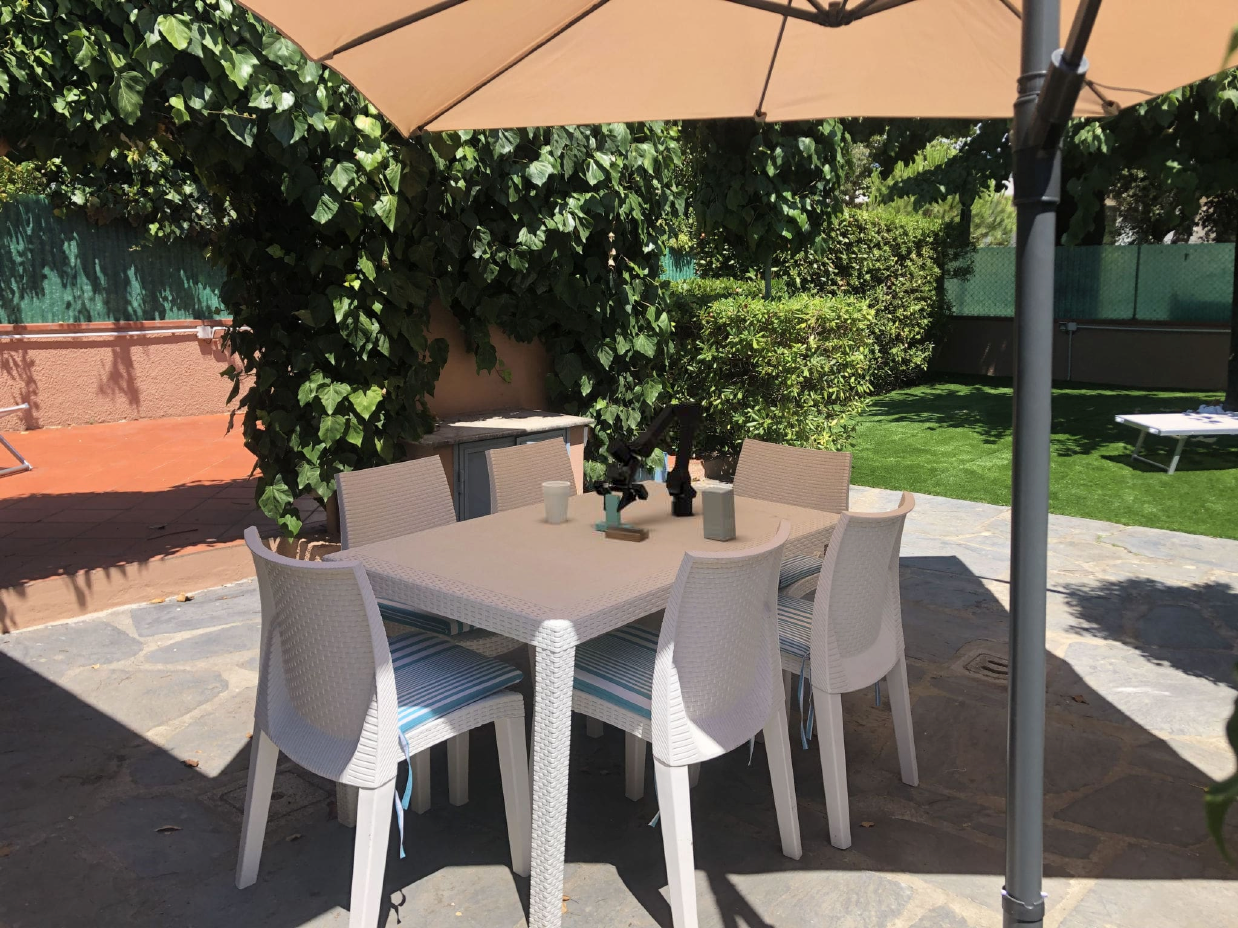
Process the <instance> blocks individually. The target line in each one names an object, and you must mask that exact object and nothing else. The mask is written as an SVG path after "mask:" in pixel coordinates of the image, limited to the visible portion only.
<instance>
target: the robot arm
mask: <svg viewBox="0 0 1238 928" xmlns="http://www.w3.org/2000/svg"><path fill="white" fill-rule="evenodd" d="M703 413H704V406H703V405H702V403H701V402H700V401H689V400H684V401H681V403H671V402H669V403H666V404H665V406H664V408H663V409H662V411H661V412H660V413H659V414H658V416H657V417H656V418H655V419H654V421H652V424H650V425H649V427H648V428H647V429H646V430H645V431H644V432H642V433H641V434H639V435H637V436H636V437H635V438H634V439H632V440H631V442H630V443H626V441H625V439H624V438H623V437H621V436H619V437H616V439H614V440H612V441H611V442H609V443H608V444H607V445H606V447H605V452H606V454H607V455H609V456H610V457H611V459H612V460H614V462H615V463H617V464H621V465H620V466H619V467H614V466H608V467H607V470H606V474H605V477H606V478H609V479H610V480H609V481H610V483H611V484H609V483H607V481H606V480H603V479H594V480H593V481H592V483H591V487H592V489H593V490H594V492H595V494H596V495H597V496H600V497H603V509H602V510H603V511H604V512H606V502H605V495H608V494H612V495H613V493H622V494H621V497H620V502H619V504H618V507H617V510H616V511H617V513H619V512H620V511H622V510H624V509H625V508H626V507H628V506H629V505H631V504H632V503H633V502H637V500H641V501H647V500H648V498H649V492H648V490H647V488H646V486H645V485H644V484H643V483H636V481H637V478H636V475H637V473H638V471H639V469H645V464H644V463H643V459H642V460H641V459H640V458H644V459H647V458H651V456H652V455H653V453H654V451H655V450H656V449H657V444H658V443H657V442H658V441H659V439H660V438H661V436H662V435H663V434H664V433H665V431H666V430H667V429H668V428H669V426H670V425H671V424H672V423H673V421H674V420H675V418H677V419H678V422H679V424H680V429H679V435H678V440H677V441H678V442H677V448H676V453H675V460H674V466H673V468H672V469H671V471H669V470H668V471H667V472H666V478H665V481H664V483H665V488H666V489H667V491H668V496H669V497H672V500H671V508H670V509H671V510H670V513H671V514H672V515H674V516H675V517H688V516H689V517H690V516H695V513H693V502H694V501H693V499H696V497H697V494H698V491H697V490H696V489H695V488H694V487H693V486H692V476H691V472H690V471H689V467H690V461H691V456H692V448H693V443H694V439H695V438H694V437H695V431H696V428H697V426H698V425H699V424H700V423H701V421H702V417H703Z"/></svg>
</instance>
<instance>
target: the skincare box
mask: <svg viewBox="0 0 1238 928" xmlns="http://www.w3.org/2000/svg"><path fill="white" fill-rule="evenodd" d="M734 493H735V491H734V488H728V487H719V486H718V487H717V486H712V487H709V488H705V489H702V490H701V504H702V525H703V527H702V528H703V538H704V539H708V538H710V539H709V540H715V541H720V542H725V541H729V540H732V538H733V539H735V538H736V536H737V531H736V528H737V527H736V510H735V509H736V508H735V494H734Z"/></svg>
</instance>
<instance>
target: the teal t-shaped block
mask: <svg viewBox="0 0 1238 928" xmlns="http://www.w3.org/2000/svg"><path fill="white" fill-rule="evenodd" d="M620 500H621V495H620V494H613V493H612V494H608V495H605V502H606V511H605V520H604V521H603V520H601V521H599V522H596V523H594V524H595V525H594V527H595V528H594V529H595V530H596V531H605V530H606V526H608V525H614V526H622V527H630V528H635V525H634V524H628V523H622V522H621V521H622V520H621V519H622V518H621V517H622V515H621V511H622V510H621V511H620V512H619V513H617V511H616V510H617V507H618V504H619V502H620Z"/></svg>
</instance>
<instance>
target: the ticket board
mask: <svg viewBox="0 0 1238 928" xmlns="http://www.w3.org/2000/svg"><path fill="white" fill-rule="evenodd" d="M649 531H650V530H648V529H644V528H638V527H634V528H630V527H622V526H614V525H608V526H606V530H605V532H604V534H605V539H611V540H612V539H613V540H620V541H627V542H636V543H640V542H642V541H644V540H647V539H649V538H650V532H649ZM646 538H647V539H646Z"/></svg>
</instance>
